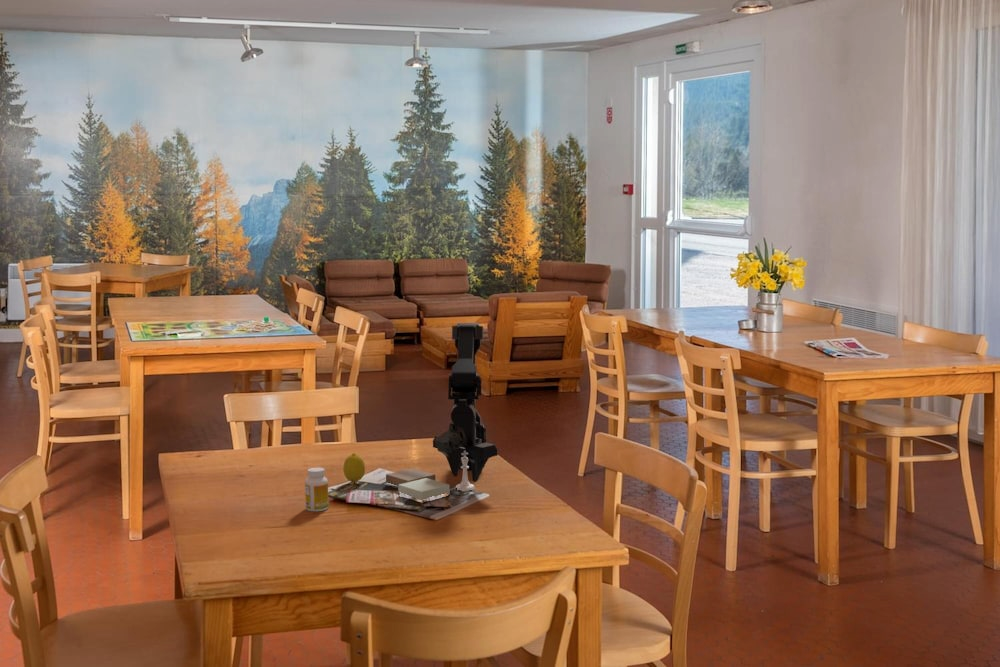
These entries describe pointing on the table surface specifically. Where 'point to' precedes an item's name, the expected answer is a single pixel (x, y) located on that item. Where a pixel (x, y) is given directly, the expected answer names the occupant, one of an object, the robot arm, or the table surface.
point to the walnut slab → (408, 476)
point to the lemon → (354, 468)
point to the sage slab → (424, 488)
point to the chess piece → (465, 474)
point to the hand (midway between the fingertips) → (465, 479)
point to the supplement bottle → (316, 490)
